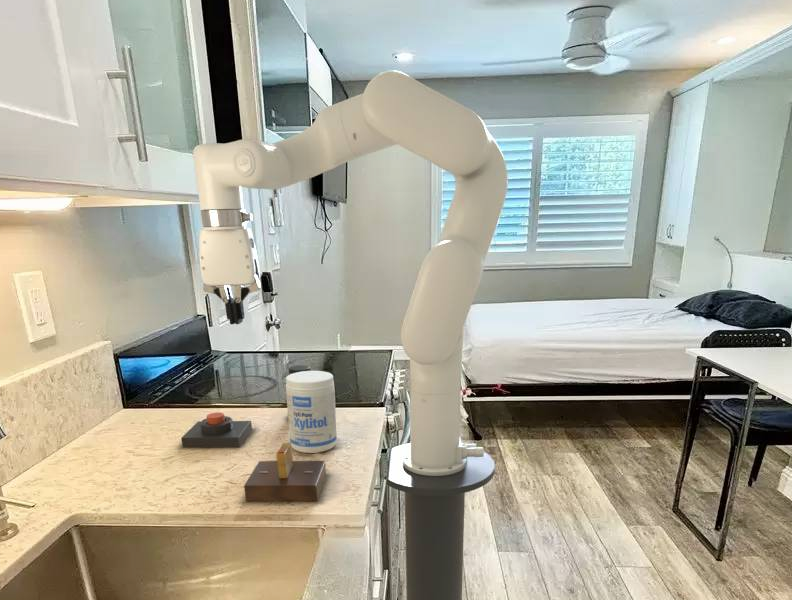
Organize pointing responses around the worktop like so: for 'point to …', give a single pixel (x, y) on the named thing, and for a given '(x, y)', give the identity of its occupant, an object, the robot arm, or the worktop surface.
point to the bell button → (215, 418)
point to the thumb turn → (284, 460)
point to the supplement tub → (311, 411)
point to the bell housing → (217, 434)
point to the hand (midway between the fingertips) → (236, 322)
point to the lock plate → (285, 482)
